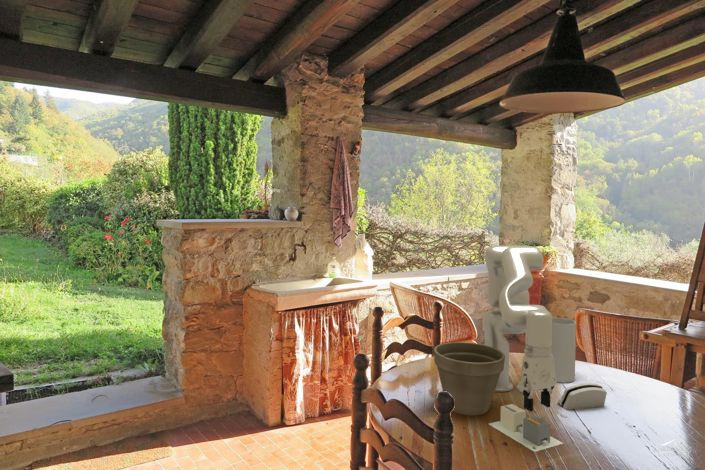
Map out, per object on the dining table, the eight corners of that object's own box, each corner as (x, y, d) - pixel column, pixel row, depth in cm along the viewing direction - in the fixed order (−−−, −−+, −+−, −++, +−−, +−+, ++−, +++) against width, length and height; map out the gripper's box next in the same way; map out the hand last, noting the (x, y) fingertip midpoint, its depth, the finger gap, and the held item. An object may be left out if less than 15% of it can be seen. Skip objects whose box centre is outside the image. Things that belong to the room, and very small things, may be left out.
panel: (488, 427, 156) (488, 420, 156) (515, 420, 161) (515, 413, 161) (534, 455, 138) (534, 447, 138) (563, 447, 143) (563, 439, 143)
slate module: (523, 437, 146) (523, 417, 146) (534, 434, 148) (535, 414, 148) (537, 446, 141) (538, 425, 141) (550, 442, 143) (550, 422, 143)
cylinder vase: (537, 377, 202) (538, 320, 201) (551, 371, 210) (552, 316, 209) (566, 385, 193) (567, 326, 191) (579, 378, 201) (581, 321, 199)
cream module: (500, 424, 155) (500, 405, 155) (511, 421, 158) (512, 403, 157) (513, 431, 150) (513, 412, 150) (525, 428, 152) (525, 410, 152)
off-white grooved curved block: (595, 400, 178) (602, 379, 174) (603, 409, 174) (610, 387, 170) (556, 403, 175) (562, 382, 171) (563, 413, 170) (570, 391, 167)
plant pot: (516, 409, 170) (517, 350, 169) (482, 432, 152) (482, 367, 151) (456, 391, 187) (457, 337, 186) (419, 409, 170) (420, 350, 169)
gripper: (526, 357, 136) (525, 417, 137) (568, 350, 143) (567, 407, 144) (507, 350, 143) (506, 408, 144) (548, 343, 150) (547, 398, 151)
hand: (536, 407), depth 144 cm, fingers open, 6 cm apart
